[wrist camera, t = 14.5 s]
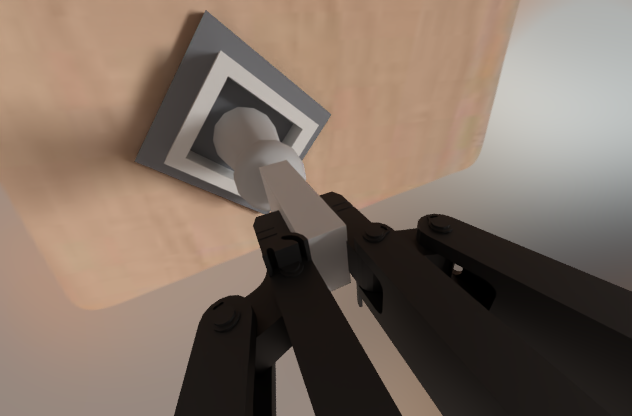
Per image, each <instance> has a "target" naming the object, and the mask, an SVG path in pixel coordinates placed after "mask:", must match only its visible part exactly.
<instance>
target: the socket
mask: <svg viewBox="0 0 632 416" xmlns="http://www.w3.org/2000/svg"><path fill="white" fill-rule="evenodd" d="M237 107H246V108H254V109H256V110H258V111H260V112H262V113H264V114H265V115H267V116H268V118H269V119H270V120H271V122H272V123H273V125H274V126H275V128H276V131H277V134H278V137H279V141H280V142H282V143H284V144H286V145H288V146H290V147H291V148H293V149H294V150H295V152H296V153H297V155H298V156H299V158H300V159H301V160H303V158H304V157H305V155H306V154H307V152H308V150H309V149H310V147H311V146H312V144H313V143H314V141H315V140H316V138H317V136H318V135H319V133H320V132H321V130H322V129H323V127H324V125H325V124H326V122H327V121H328V119H329V118H330V116H331V114H330V113H329V112H328V111H327V110H325V109H324V108H323V107H322V106H321V105H319V104H318V103H317V102H316V101H315V100H313V99H312V98H311V97H310V96H309V95H307V94H306V93H305V92H304V91H302V90H301V89H300V88H299V87H298V86H296V85H295V84H294V83H293V82H292V81H290V80H289V79H288V78H287V77H286V76H284V75H283V74H282V73H281V72H280V71H278V70H277V69H276V68H275V67H274V66H272V65H271V64H270V63H269V62H268V61H266V60H265V59H264V58H263V57H262V56H260V55H259V54H258V53H257V52H256V51H254V50H253V49H252V48H251V47H250V46H248V45H247V44H246V43H245V42H244V41H242V40H241V39H240V38H239V37H238V36H236V35H235V34H234V33H233V32H232V31H230V30H229V29H228V28H227V27H225V26H224V25H223V24H222V23H221V22H219V21H218V20H217V19H216V18H215V17H213V16H212V15H211V14H210V13H209V12H207V11H205V13H204V15H203V17H202V19H201V21H200V23H199V25H198V28H197V30H196V32H195V34H194V36H193V38H192V40H191V42H190V45H189V47H188V49H187V51H186V53H185V55H184V57H183V59H182V62H181V64H180V66H179V68H178V70H177V72H176V74H175V76H174V78H173V81H172V83H171V85H170V87H169V89H168V91H167V93H166V95H165V98H164V100H163V102H162V104H161V106H160V108H159V110H158V112H157V115H156V117H155V119H154V121H153V123H152V125H151V127H150V129H149V131H148V134H147V136H146V138H145V140H144V142H143V144H142V146H141V148H140V151H139V153H138V155H137V157H136V159H135V162H137V163H140V164H142V165H144V166H147V167H149V168H152V169H154V170H157V171H159V172H162V173H164V174H167V175H169V176H171V177H174V178H176V179H179V180H181V181H184V182H186V183H189V184H191V185H194V186H196V187H199V188H201V189H203V190H206V191H208V192H211V193H213V194H216V195H218V196H221V197H223V198H226V199H228V200H231V201H233V202H235V203H238V204H240V205H243V206H245V207H248V208H250V209H253V210H255V211H258V212H260V213H263V214H268V213H269V212H270V211H263V210H260V209H257V208H254V207H252V206H251V205H250V204H249V203H247V202H246V201H245V200H244V199H243V198H242V197H241V196H240V195H239V193H238V190H237V187H236V184H235V181H234V175H233V174H234V170H233V169H232V168H231V167H230V166H229V165H227V164H226V163H225V162H224V161H223V160H222V159H221V158H220V157H219V156H218V155H217V152H216V148H215V145H214V142H213V136H214V127H215V125H216V123H217V122H218V121H219V119H220V118H221V117H222V116H223V114H224V113H226V112H228V111H230V110H233V109H235V108H237Z"/></svg>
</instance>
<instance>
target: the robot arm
mask: <svg viewBox="0 0 632 416" xmlns="http://www.w3.org/2000/svg"><path fill="white" fill-rule="evenodd" d="M259 170H260V174H261V177H262V181H263V184H264V188H265V191H266V195H267V198H268V202H269V206H270V209H271V213H268V214H265V215H262V216H259V217H256V219H255V222H254V225H253V227H254V230H255V233H256V236H257V239H258V242H259V245H260V248H261V251H262V257H263V260H264V262H265V265H266V268H267V273H266V277H265V279H264V281H263V282H262V283H261V285H260V286H259V287H258V288H257V289H256V290H254V291H253V292H252V293H250V294H249V295H248V296H246V297H242V296H239V295H234V296H227V297H225V298H222V299H219V300H218V301H217V302H215V303H214V304H212V305H211V306H210V307H209V308H208V309H207V310H206V312H205V313H204V314H203V316H202V318H201V320H200V322H199V325H198V329H197V332H196V337H195V340H194V344H193V347H192V351H191V355H190V358H189V362H188V366H187V370H186V373H185V377H184V381H183V384H182V388H181V392H180V396H179V399H178V403H177V406H176V410H175V414H174V416H276V368H275V362H276V361H277V360H278V359H279V358H280V357H281V356H282V355H283V354H284V353H285V352H286V351H287V350H289V348H291V347H292V346H293V349H294V352H295V355H296V358H297V361H298V364H299V368H300V371H301V374H302V376H303V380H304V383H305V386H306V388H307V392H308V395H309V398H310V401H311V404H312V406H313V410H314V413H315V416H402V415H401V413H400V411H399V409H398V408H397V406H396V404H395V403H394V401H393V399H392V397H391V396H390V394H389V392H388V390H387V389H386V387H385V385H384V384H383V382H382V380H381V378H380V377H379V375H378V373H377V372H376V370H375V368H374V366H373V364H372V363H371V361H370V359H369V358H368V356H367V354H366V353H365V351H364V349H363V347H362V345H361V344H360V342H359V340H358V339H357V337H356V335H355V333H354V332H353V330H352V328H351V327H350V325H349V323H348V321H347V320H346V318H345V316H344V315H343V313H342V311H341V309H340V308H339V306H338V304H337V302H336V301H335V299H334V297H333V295H332V294H331V291H333V290H336V289H338V288H340V287H342V286H344V285H347V284H349V283H351V280H350V273H351V275H352V276H353V277H354V279H355V280H356V283H357V300H358V304H359V307H362V299H363V301H364V302H365V304H366V305H367V306H368V308H369V309H370V311H371V312H372V314H373V315H374V317H375V318H376V319H377V321H378V322H379V324H380V325H381V327H382V328H383V329H384V331H385V332H386V334H387V335H388V337H389V338H390V340H391V341H392V343H393V344H394V346H395V347H396V348H397V350H398V351H399V353H400V354H401V356H402V357H403V358H404V360H405V361H406V363H407V364H408V366H409V367H410V369H411V370H412V372H413V373H414V374H415V376H416V377H417V379H418V380H419V382H420V383H421V385H422V386H423V387H424V389H425V390H426V392H427V393H428V395H429V396H430V398H431V399H432V401H433V402H434V403H435V405H436V406H437V408H438V409H439V411H440V412H441V414H442V415H443V416H632V292H631V291H629V290H626V289H624V288H622V287H619V286H617V285H614V284H612V283H610V282H607V281H605V280H602V279H600V278H597V277H595V276H593V275H590V274H588V273H585V272H583V271H581V270H578V269H576V268H573V267H571V266H568V265H566V264H563V263H561V262H559V261H556V260H554V259H552V258H549V257H546V256H544V255H542V254H539V253H537V252H535V251H532V250H530V249H527V248H525V247H522V246H520V245H518V244H515V243H512V242H510V241H508V240H506V239H503V238H501V237H498V236H496V235H493V234H491V233H489V232H486V231H484V230H481V229H479V228H476V227H474V226H472V225H469V224H467V223H464V222H462V221H460V220H457V219H455V218H452V217H449V216H446V215H441V214H430V215H426V216H424V217H421V218H420V219H419V221H418V225H417V228H416V229H407V230H399V231H394V230H393V229H392V228H390V227H389V226H387V225H385V224H382V223H371V222H370V221H369V220H368V219H367V218H366V217H365V216H364V215H363V214H361V213H360V212H359V211H358V210H357V209H356V208H355V207H353V205H352V204H351V203H350V202H348V201H347V200H346V199H345V198H344V197H343V196H342V195H340V194H337V193H334V192H329V193H326V194H323V195H320V196H319V195H318V194H317V193H316V192H315V191H314V189H313V188H312V187H311V186H310V185H309V184H308V183H307V182H306V181H305V180H304V179H303V177H302V176H301V175H300V174H299V173H298V172H297V171H296V170H295V169H294V168H293V167H292V165H291V164H290V163H289V162H288V161H287V160H284V161H281V162H277V163H273V164H270V165H266V166H262V167H259ZM454 264H457V265H459V266H461V267H462V268H463V270H462V271H456V270H454V269H453V268H454Z"/></svg>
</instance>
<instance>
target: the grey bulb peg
mask: <svg viewBox="0 0 632 416" xmlns="http://www.w3.org/2000/svg"><path fill="white" fill-rule="evenodd" d="M213 142H214V145H215V148H216V152H217V155H218V156H219V157H220V158H221V159H222V160H223V161H224V162H225V163H226V164H227V165H229V166H230V167H231V168H232V169H233V170H234V174H233V175H234V181H235V184H236V187H237V190H238V193H239V195H240V196H241V197H242V198H243V199H244V200H245V201H246V202H247V203H249V204H250V205H251V206H252V207H254V208H257V209H260V210H263V211H271V209H270V206H269V202H268V198H267V195H266V191H265V188H264V184H263V181H262V177H261V174H260V170H259V167H262V166H266V165H270V164H273V163H277V162H281V161H284V160H287V161H288V162H289V163H290V164H291V165H292V167H293V168H294V169H295V170H296V171H297V172H298V173H299V174H300V175H301V176H302V177H303V179H304V180H305V181H306V175H305V169H304V164H303V162H302V160H301V159H300V158H299V156H298V155H297V153H296V152H295V150H294V149H293V148H291V147H290V146H288V145H286V144H284V143H282V142H280V141H279V137H278V134H277V131H276V128H275V126H274V125H273V123H272V122H271V120H270V119H269V118H268V116H267V115H265V114H264V113H262V112H260V111H258V110H256V109H254V108H246V107H237V108H235V109H233V110H230V111H228V112H226V113H224V114H223V116H222V117H221V118H220V119H219V121H218V122H217V123H216V125H215V127H214V136H213Z"/></svg>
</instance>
